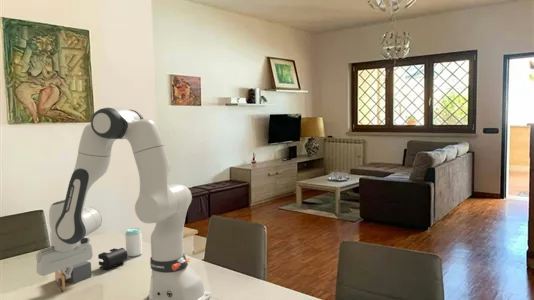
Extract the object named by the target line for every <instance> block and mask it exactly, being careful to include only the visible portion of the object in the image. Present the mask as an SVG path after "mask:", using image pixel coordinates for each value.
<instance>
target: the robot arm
mask: <svg viewBox="0 0 534 300" xmlns="http://www.w3.org/2000/svg"><path fill="white" fill-rule="evenodd" d="M117 140H126V141H128V143H129V144H130V147H131V150H132V154H133V158H134V161H135V165H136V167H137V172H138V177H139V193H138V198H137V199H136V201H135V203H134V212H135V214H136V217H137V219H139V221H141V222H142V223H143V224H144V223H145V224H155V226H154V229H153V231H152V232H151V234H150V251H151V252H150V254H151V257H150V259H149V260H150V261H149V265H150V270H151V276H150V284H149V285H150V286H149V294H148V300H209V299H210V298H211V296H212V293H211V292H210V291H208V290H206V289H205V288H204V283H203V279H202V278H201V277H200V276H199V275H198V274H197V273H196V272H195V271H194V270H193V269H192V268H191V267H190V266H189V262H190V258H186V255H185V252H184V229H185V228H184V227H185V222H186V217H187V212H188V210H189V206H190V205H191V203H192V200H193V196H192V191H191V190H190V188H188V187H187V186H186V185H184V184H180V183H172V184H169V172H170V170H171V168H172V166H171V162H170V158H169V155H168V153H167V149H166V148H167V147H166V146H165V143H164V140H163V136H162V134H161V132H160V130H159V128H158V126H157V123H155V121H154V120H152V119H149V118H144V116H143V115H142V114H141V113H140V112H138V111H137V110H135V109H134V110H133V109H126V108H123V107H103V108H100V109H98V110H96V111H95V112H94V113H93V114H92V116H91V120H90V123H89V124H87V125H85V127H84V128H83V131H82V133H81V136H80V141H79V145H78V148H77V149H78V150H77V157H76V162H75V165H74V169H73V172H72V173H71V177H70V179H69V184H68V186H67V190H66V196H65V199H63V200H59V201H56V202H53V203H51V205H50V207H49V211H48V212H49V213H48V219H49V220H48V222H49V227H50V229H51V232H50V246H49V247H45V248H42V249H40V250H39V251H38V252H37V253H36V255H35V258H36V273H37V274H38V275H39V276H42V277H44V276H47V275H51V274H53V273H55V272H56V271H59V270H60V272H61V273H62V274H63V275H64V278H65V280H66V279H69V278H71V272H72V270H73V265H76V264H79V263H82V262H85V261H88V262H89V261H90V260H92V259H93V256H94V254H93V247H92V244H91V237H90V235H91V234H92V233H94V232H95V231H97V230H98V229H99V228H100V227H101V225H102V220H103V219H102V215H101V213H100V212H99V210H97V209H96V208H93V207H88V206H85V203H86V198H87V195H88V192H89V190H90V189H91V187H92V186H93V185H94V183H96V182H97V181H99V179H100V178H102V177H103V176H104V175H106V174H107V171H108V169H109V166H110V163H111V157H112V148H113V144H114V142H116V141H117ZM66 268H68V270H67V272H65V271H66Z"/></svg>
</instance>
